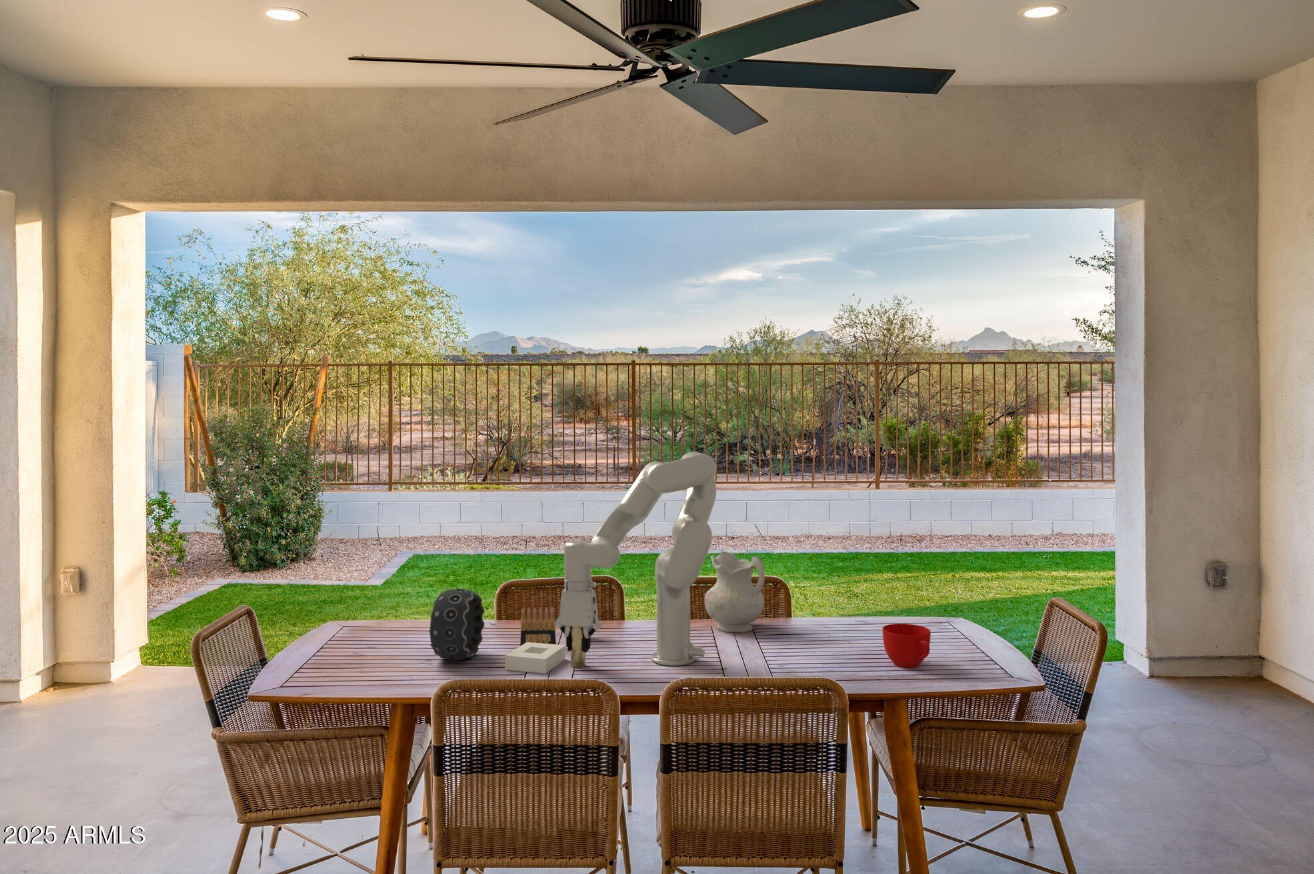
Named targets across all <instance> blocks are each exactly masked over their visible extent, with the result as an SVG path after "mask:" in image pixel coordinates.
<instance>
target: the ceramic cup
mask: <svg viewBox="0 0 1314 874" xmlns="http://www.w3.org/2000/svg"><path fill="white" fill-rule="evenodd" d="M931 633H932V632H931V629H929V628H927V627H925V626H923V625H918V624H912V623H891V624H886V625H884V626H882V642H883V647H884V650H885V653H886V655H887V656H888V658H889V659H890V661H891V662H892V663H893V665H895V666H896V667H899V668H903V669H905V668H906V669H914V668H918V667H919V665H921V663H922V662H923V661H924V660H925V659H926V658H927V657H928V656H929V654H930V651H931V647H930V643H931Z"/></svg>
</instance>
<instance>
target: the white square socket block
mask: <svg viewBox="0 0 1314 874" xmlns="http://www.w3.org/2000/svg"><path fill="white" fill-rule="evenodd" d="M504 656H505V657H504V659H505V660H504V662H505V664H504V665H505V666H504V668H505V671H512V672H513V671H514V672H524V673H535V674H536V673H537V674H548V672H550V671H551V670H553V669H554V668H555V667H557V666H558V665H560V664H561V663H563V661H565V660H566V645H565V644H557V643H556V644H544V643H532V642H527V641H526V643H525V644H523V645H522V646H520V645H519V646H518V647H517V648H515V649H513V650H512V651H510V652H509V653H507V654H505V655H504Z"/></svg>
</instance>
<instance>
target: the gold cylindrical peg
mask: <svg viewBox="0 0 1314 874" xmlns="http://www.w3.org/2000/svg"><path fill="white" fill-rule="evenodd" d="M583 638H584V630H583V627H578V626H571V651H570V653H571V654H570V656H571V657H570V660H571V661H570V663H571V664H570V666H571V668H573V669H582V668H585V667H586V665H587V662H586V661H587V660H586V659H587V658H586V657H587V656H586V654H587V652H586V653H584V652H583Z"/></svg>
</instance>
